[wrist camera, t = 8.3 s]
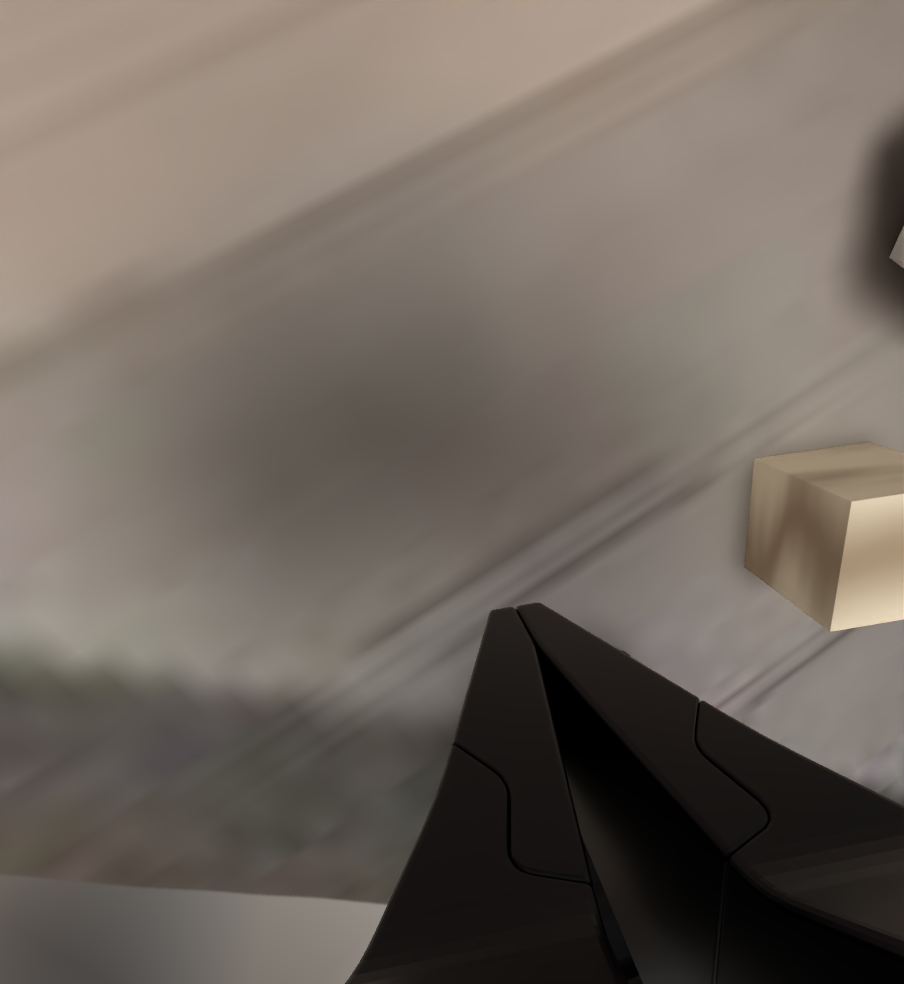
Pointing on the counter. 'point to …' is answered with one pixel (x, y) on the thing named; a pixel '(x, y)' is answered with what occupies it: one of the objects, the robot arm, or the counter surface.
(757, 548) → the birch block
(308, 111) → the counter surface
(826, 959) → the robot arm
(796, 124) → the counter surface
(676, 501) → the counter surface
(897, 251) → the die
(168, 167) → the counter surface
